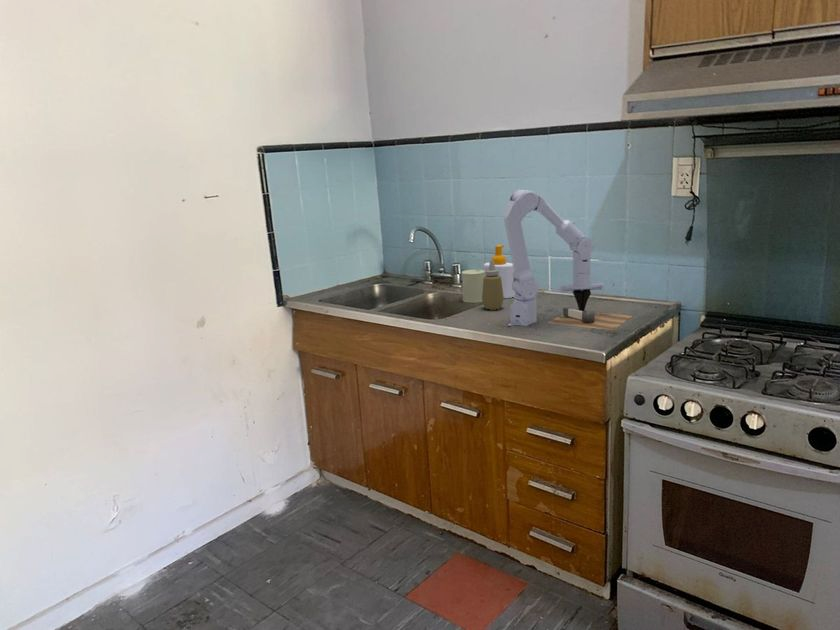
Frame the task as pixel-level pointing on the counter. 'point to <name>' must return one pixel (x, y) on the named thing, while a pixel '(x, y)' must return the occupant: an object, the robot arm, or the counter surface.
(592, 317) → the peg
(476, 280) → the can
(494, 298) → the squeeze bottle
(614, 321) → the board
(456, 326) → the counter surface
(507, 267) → the soap bottle
